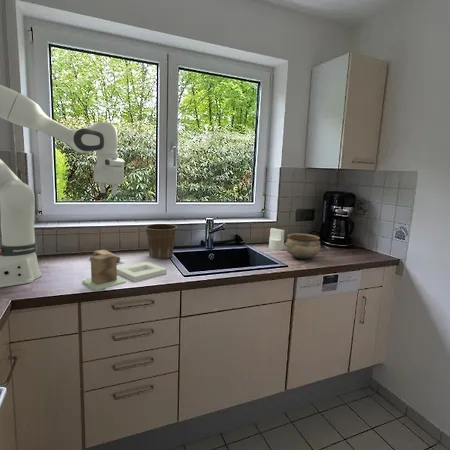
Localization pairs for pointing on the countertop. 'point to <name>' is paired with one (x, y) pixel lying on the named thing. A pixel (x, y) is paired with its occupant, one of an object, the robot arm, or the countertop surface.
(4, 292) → the countertop surface
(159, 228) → the plant pot
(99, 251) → the packaged product
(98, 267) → the walnut block
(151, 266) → the pocket plate
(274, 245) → the base with upright slab
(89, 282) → the green pad
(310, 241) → the cooking pot
